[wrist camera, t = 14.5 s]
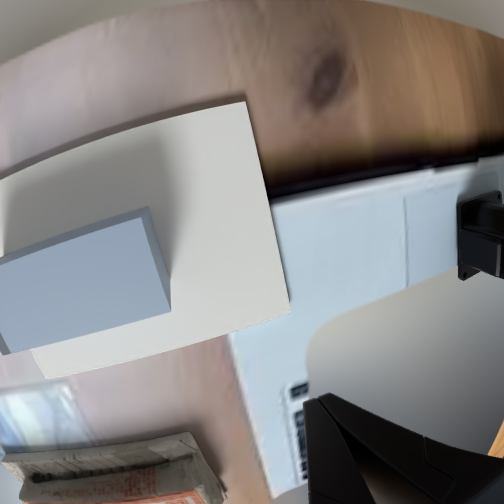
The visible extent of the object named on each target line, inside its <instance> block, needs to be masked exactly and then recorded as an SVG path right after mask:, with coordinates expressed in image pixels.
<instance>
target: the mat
mask: <svg viewBox="0 0 504 504" xmlns="http://www.w3.org/2000/svg"><path fill="white" fill-rule="evenodd" d="M146 206H148V207H149V211H150V214H151V218H152V221H153V225H154V228H155V232H156V235H157V238H158V242H159V245H160V249H161V252H162V255H163V258H164V262H165V265H166V268H167V271H168V274H169V277H170V287H171V312H169V313H165V314H162V315H158V316H154V317H151V318H147V319H144V320H140V321H136V322H133V323H129V324H126V325H122V326H118V327H114V328H111V329H107V330H103V331H99V332H96V333H92V334H88V335H84V336H80V337H76V338H72V339H69V340H65V341H61V342H57V343H53V344H49V345H45V346H41V347H36V348H32V349H30V351H31V353H32V355H33V357H34V359H35V360H36V362H37V364H38V366H39V368H40V369H41V371H42V373H43V374H44V376H45V378H46V380H48V379H53V378H58V377H63V376H67V375H72V374H77V373H81V372H86V371H90V370H95V369H99V368H103V367H107V366H111V365H116V364H120V363H124V362H128V361H132V360H136V359H139V358H143V357H147V356H151V355H155V354H158V353H162V352H166V351H169V350H173V349H177V348H180V347H184V346H187V345H191V344H194V343H198V342H201V341H204V340H208V339H211V338H214V337H218V336H221V335H224V334H228V333H231V332H234V331H237V330H240V329H243V328H247V327H250V326H253V325H256V324H259V323H262V322H265V321H268V320H271V319H274V318H277V317H280V316H283V315H286V314H289V313H291V309H290V304H289V299H288V294H287V289H286V284H285V279H284V274H283V269H282V264H281V259H280V254H279V250H278V245H277V240H276V235H275V231H274V226H273V221H272V217H271V212H270V207H269V203H268V198H267V194H266V189H265V185H264V180H263V176H262V171H261V167H260V162H259V158H258V154H257V149H256V145H255V141H254V136H253V132H252V128H251V124H250V119H249V115H248V111H247V107H246V102H239V103H234V104H229V105H224V106H219V107H214V108H209V109H205V110H200V111H196V112H192V113H187V114H183V115H179V116H175V117H171V118H168V119H164V120H160V121H156V122H153V123H149V124H146V125H142V126H139V127H135V128H132V129H129V130H126V131H122V132H119V133H116V134H113V135H110V136H107V137H104V138H101V139H98V140H95V141H92V142H90V143H87V144H84V145H81V146H79V147H76V148H73V149H71V150H68V151H66V152H63V153H60V154H58V155H55V156H53V157H50V158H48V159H46V160H43V161H41V162H39V163H36V164H34V165H32V166H29V167H27V168H25V169H23V170H20V171H18V172H16V173H14V174H12V175H10V176H8V177H6V178H4V179H1V180H0V258H1V257H2V256H4V255H7V254H9V253H12V252H14V251H17V250H19V249H22V248H25V247H27V246H30V245H33V244H35V243H38V242H41V241H43V240H46V239H49V238H52V237H54V236H57V235H60V234H63V233H66V232H69V231H71V230H74V229H77V228H80V227H83V226H86V225H89V224H92V223H95V222H98V221H101V220H104V219H107V218H111V217H114V216H117V215H120V214H123V213H126V212H130V211H133V210H136V209H139V208H143V207H146Z"/></svg>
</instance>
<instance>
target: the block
mask: <svg viewBox="0 0 504 504" xmlns="http://www.w3.org/2000/svg"><path fill="white" fill-rule="evenodd" d="M169 312H171V287H170V277H169V274H168V271H167V268H166V265H165V262H164V258H163V255H162V252H161V249H160V245H159V242H158V238H157V235H156V232H155V228H154V225H153V221H152V218H151V214H150V211H149V207H148V206H146V207H143V208H139V209H136V210H133V211H130V212H126V213H123V214H120V215H117V216H114V217H111V218H107V219H104V220H101V221H98V222H95V223H92V224H89V225H86V226H83V227H80V228H77V229H74V230H71V231H69V232H66V233H63V234H60V235H57V236H54V237H52V238H49V239H46V240H43V241H41V242H38V243H35V244H33V245H30V246H27V247H25V248H22V249H19V250H17V251H14V252H12V253H9V254H7V255H4V256H2V257H1V258H0V351H1V353H2V355H7V354H11V353H16V352H20V351H24V350H28V349H32V348H36V347H41V346H45V345H49V344H53V343H57V342H61V341H65V340H69V339H72V338H76V337H80V336H84V335H88V334H92V333H96V332H99V331H103V330H107V329H111V328H114V327H118V326H122V325H126V324H129V323H133V322H136V321H140V320H144V319H147V318H151V317H154V316H158V315H162V314H165V313H169Z"/></svg>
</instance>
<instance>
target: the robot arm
mask: <svg viewBox="0 0 504 504" xmlns="http://www.w3.org/2000/svg"><path fill="white" fill-rule="evenodd" d="M457 216H458V278H459V279H461V280H463V281H464V280H466V279H468V278H470V277H471V276H473V275H475V274H477V273H479V272H480V271H482V272H485V273H488V274H490V275H493V276H495V277H499V278H501V279H504V204H502V194H501V192H500V191H497V190H495V191H492V192H489V193H486V194H483V195H480V196H477V197H474V198H471V199H468V200H465V201H462V202H460V203H459V204H458V206H457ZM303 412H304V426H305V441H306V456H307V473H308V491H309V493H308V496H309V504H504V459H503V458H498V457H493V456H488V455H484V454H479V453H475V452H470V451H466V450H462V449H459V448H456V447H452V446H449V445H446V444H443V443H441V442H438V441H435V440H432V439H430V438H428V437H424V438H423V435H420V434H418V433H416V432H413V431H411V430H409V429H407V428H404V427H402V426H400V425H397V424H395V423H393V422H391V421H389V420H386V419H384V418H382V417H380V416H378V415H375V414H373V413H371V412H369V411H367V410H365V409H363V408H361V407H358V406H357V405H355V404H352V403H350V402H348V401H346V400H344V399H342V398H340V397H338V396H336V395H334V394H332V393H326V394H324V395H321V396H318V397H317V398H313V399H310V400H307V401H305V402H303Z"/></svg>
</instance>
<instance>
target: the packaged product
mask: <svg viewBox="0 0 504 504" xmlns="http://www.w3.org/2000/svg"><path fill="white" fill-rule="evenodd" d="M1 462H2V464H3V465H4V466H5V467H6V468H7V469H8V470H9V471H10V472H11V473H12V474H14V475H15V476H16V478H18V480H19V481H21V482H22V483H23V486H22V488H21V491H20V493H19V499H20V500H21V501H22V502H23V504H222V503H223V501H224V500H226V499H227V495H226V494H225V492H224V490H223V488H222V486H221V485H220V483H219V481H218V479H217V477H216V476H215V474H214V473H213V471H212V470H211V468H210V467H209V465H208V464H207V462H206V461H205V459H204V457H203V455H202V453H201V451H200V449H199V447H198V445H197V443H196V441H195V439H194V437H193V436H192V435H191V433H190V432H183V433H178V434H174V435H169V436H165V437H160V438H155V439H151V440H145V441H138V442H130V443H122V444H114V445H107V446H99V447H90V448H78V449H67V450H55V451H42V452H28V453H9V454H6V455H5V456H4V458H3V459H2V461H1Z"/></svg>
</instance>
